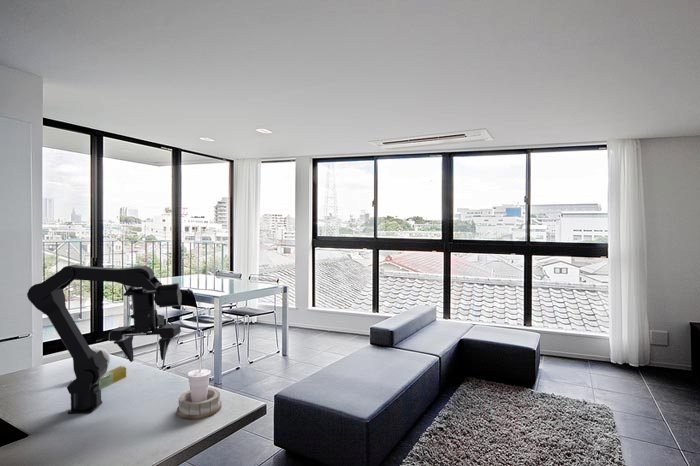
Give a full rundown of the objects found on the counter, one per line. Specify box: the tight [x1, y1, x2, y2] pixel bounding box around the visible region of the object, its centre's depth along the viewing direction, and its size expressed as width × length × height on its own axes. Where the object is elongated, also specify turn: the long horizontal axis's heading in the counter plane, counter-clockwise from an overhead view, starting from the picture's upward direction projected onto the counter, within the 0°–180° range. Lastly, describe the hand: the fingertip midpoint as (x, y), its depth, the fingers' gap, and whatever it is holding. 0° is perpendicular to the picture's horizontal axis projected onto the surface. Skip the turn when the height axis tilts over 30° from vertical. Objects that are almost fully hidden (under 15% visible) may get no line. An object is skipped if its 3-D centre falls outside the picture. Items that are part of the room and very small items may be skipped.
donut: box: [90, 347, 111, 366], centre depth 139 cm, size 10×4×10 cm, turn 140°
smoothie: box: [186, 356, 212, 402], centre depth 115 cm, size 6×6×14 cm
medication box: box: [96, 365, 127, 390], centre depth 133 cm, size 12×3×4 cm, turn 166°
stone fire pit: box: [176, 387, 222, 421], centre depth 115 cm, size 12×12×4 cm
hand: (147, 360), depth 118 cm, fingers open, 9 cm apart
